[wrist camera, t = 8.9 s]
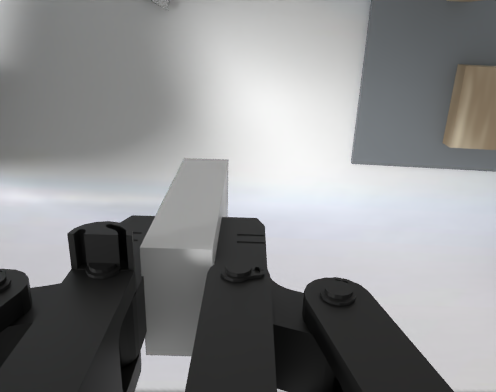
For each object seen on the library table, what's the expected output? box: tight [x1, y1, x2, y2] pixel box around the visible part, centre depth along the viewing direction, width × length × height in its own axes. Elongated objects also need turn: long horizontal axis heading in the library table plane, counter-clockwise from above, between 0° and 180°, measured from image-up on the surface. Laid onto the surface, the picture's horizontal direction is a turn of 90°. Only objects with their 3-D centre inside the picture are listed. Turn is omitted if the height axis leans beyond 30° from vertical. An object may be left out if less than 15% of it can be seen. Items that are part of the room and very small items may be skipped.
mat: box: [351, 0, 496, 171], centre depth 40 cm, size 20×22×1 cm
